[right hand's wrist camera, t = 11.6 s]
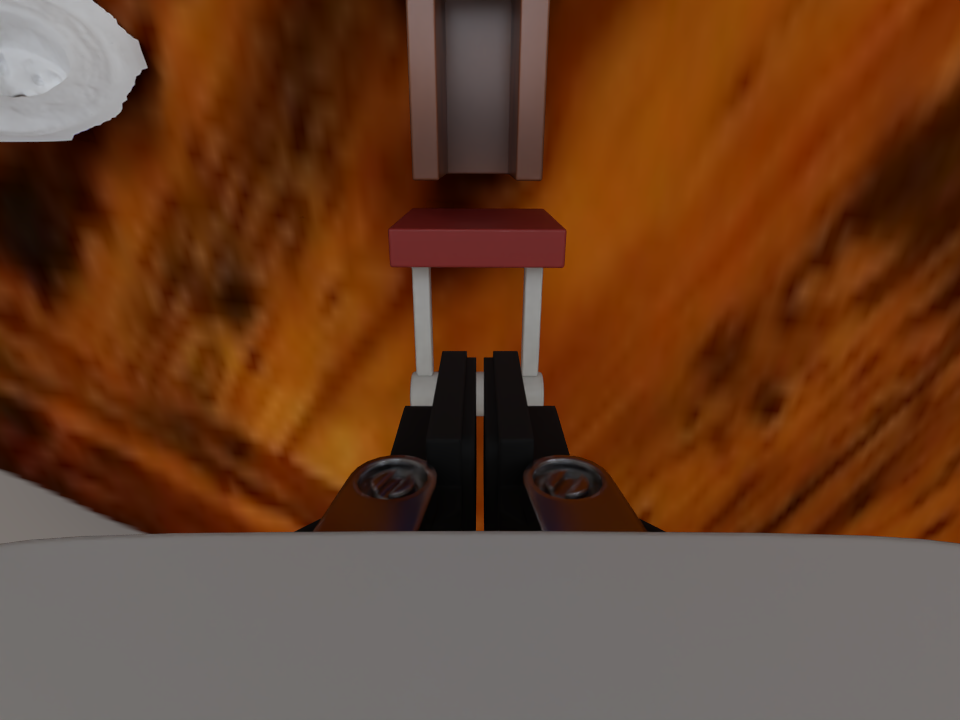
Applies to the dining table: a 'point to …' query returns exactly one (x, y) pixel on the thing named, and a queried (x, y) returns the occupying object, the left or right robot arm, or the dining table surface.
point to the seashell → (62, 68)
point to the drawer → (477, 160)
